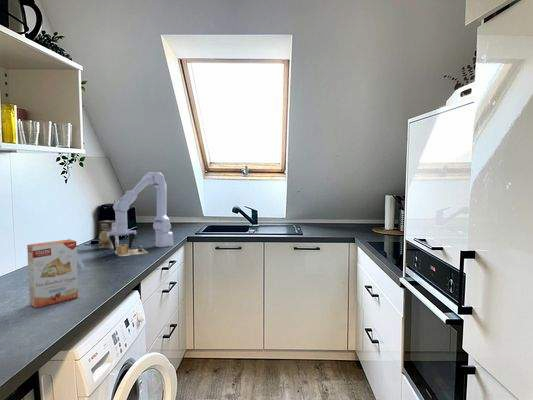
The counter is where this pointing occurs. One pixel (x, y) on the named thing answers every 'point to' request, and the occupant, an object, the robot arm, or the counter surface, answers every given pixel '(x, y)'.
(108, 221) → the coffee box
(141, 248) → the stand rod
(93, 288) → the counter surface
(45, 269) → the cracker box
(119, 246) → the bronze ring
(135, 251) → the maple board
